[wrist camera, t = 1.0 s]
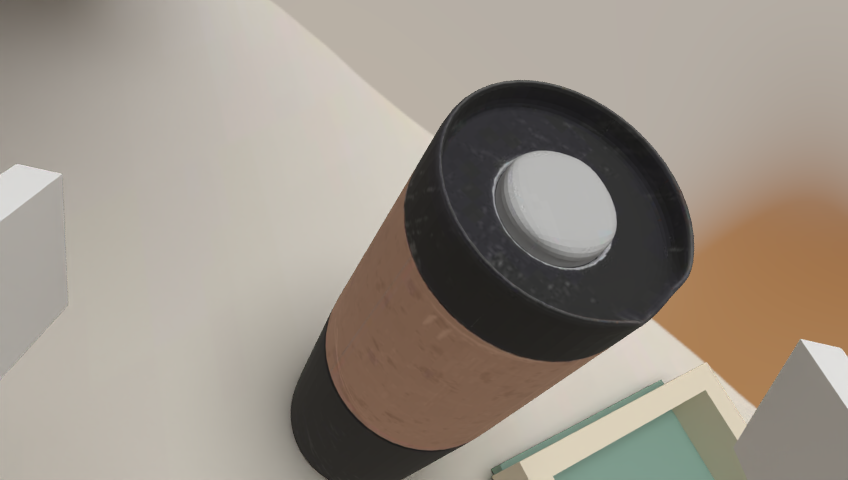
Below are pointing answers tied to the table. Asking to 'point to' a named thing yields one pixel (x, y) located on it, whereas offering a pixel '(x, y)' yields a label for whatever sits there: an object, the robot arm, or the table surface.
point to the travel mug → (491, 280)
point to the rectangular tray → (645, 438)
